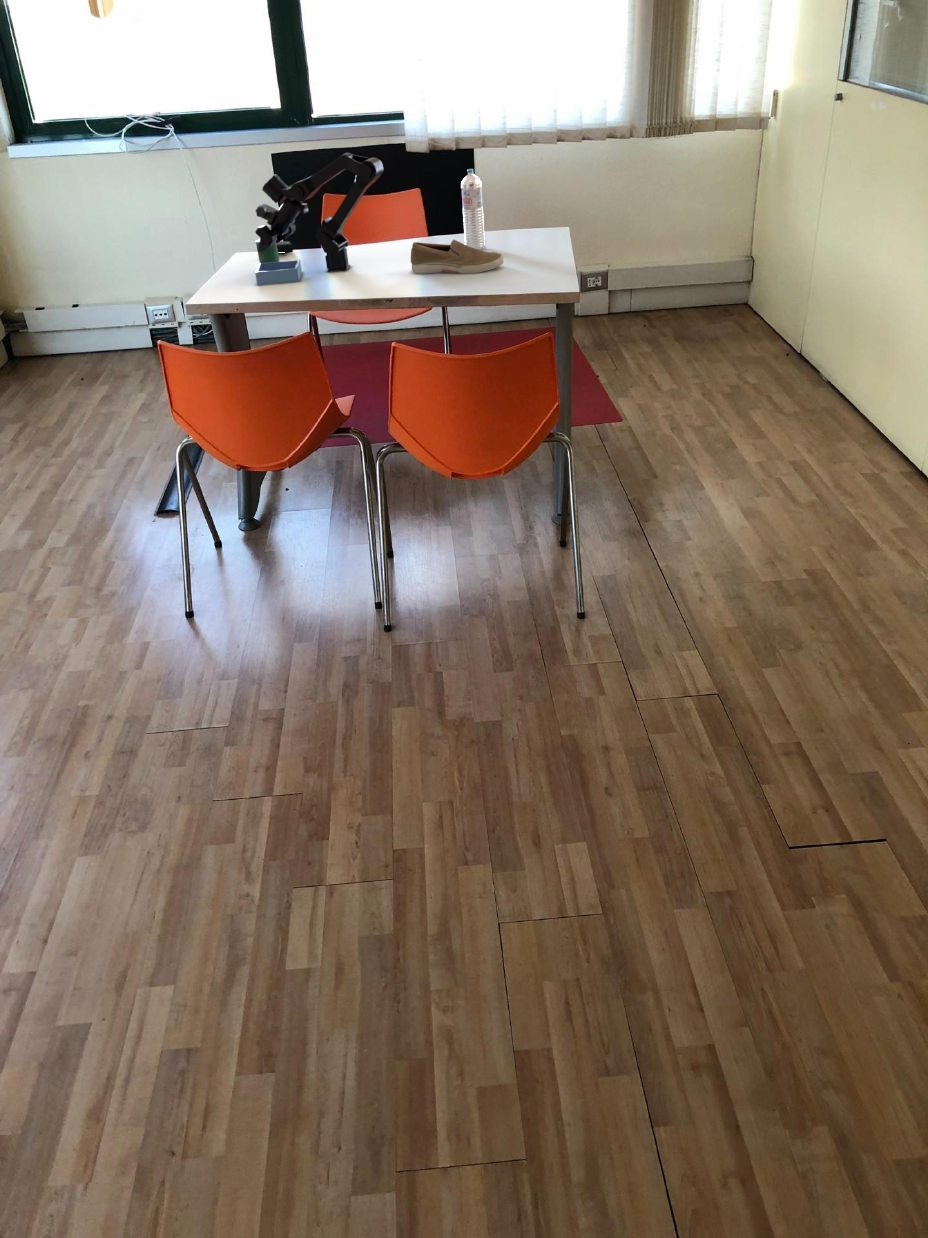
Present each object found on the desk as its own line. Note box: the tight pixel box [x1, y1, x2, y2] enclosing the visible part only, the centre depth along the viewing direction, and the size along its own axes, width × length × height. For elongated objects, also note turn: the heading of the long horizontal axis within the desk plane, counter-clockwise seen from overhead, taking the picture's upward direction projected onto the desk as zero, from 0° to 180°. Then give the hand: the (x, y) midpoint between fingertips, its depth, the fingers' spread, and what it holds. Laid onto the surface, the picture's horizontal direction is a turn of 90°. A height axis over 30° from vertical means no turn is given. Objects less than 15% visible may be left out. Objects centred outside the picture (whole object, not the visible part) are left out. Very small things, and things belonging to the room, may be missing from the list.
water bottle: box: [460, 168, 486, 251], centre depth 322 cm, size 7×7×25 cm
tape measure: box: [277, 240, 294, 256], centre depth 343 cm, size 7×7×4 cm
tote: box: [254, 259, 303, 286], centre depth 312 cm, size 13×12×4 cm
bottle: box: [255, 238, 281, 263], centre depth 322 cm, size 7×7×13 cm
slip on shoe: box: [410, 239, 505, 275], centre depth 304 cm, size 30×11×9 cm, turn 78°
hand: (263, 248), depth 322 cm, fingers closed on bottle, 7 cm apart
